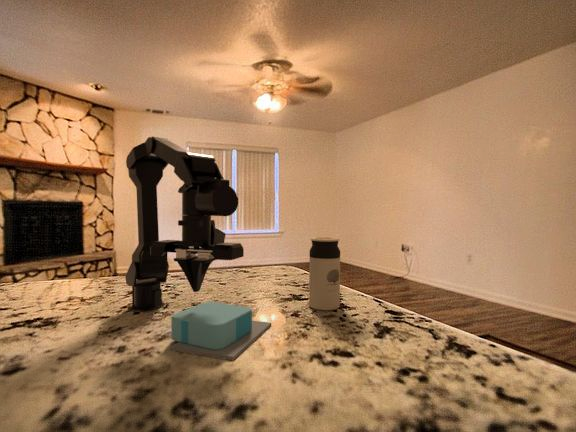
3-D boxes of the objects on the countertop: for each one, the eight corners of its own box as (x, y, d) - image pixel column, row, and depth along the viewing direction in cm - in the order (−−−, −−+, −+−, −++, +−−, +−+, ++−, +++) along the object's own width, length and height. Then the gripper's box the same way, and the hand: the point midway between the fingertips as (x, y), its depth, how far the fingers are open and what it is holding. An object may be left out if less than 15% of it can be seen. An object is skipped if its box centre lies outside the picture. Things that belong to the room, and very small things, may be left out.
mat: (170, 350, 61) (170, 346, 61) (220, 319, 78) (220, 316, 78) (233, 360, 57) (233, 356, 57) (271, 325, 74) (271, 322, 74)
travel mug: (304, 303, 91) (305, 237, 91) (331, 301, 94) (332, 236, 93) (316, 312, 84) (316, 239, 83) (345, 309, 86) (345, 239, 86)
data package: (167, 339, 64) (218, 351, 59) (167, 316, 64) (219, 326, 59) (208, 321, 75) (254, 329, 70) (208, 300, 75) (255, 308, 70)
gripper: (254, 215, 74) (254, 286, 74) (181, 214, 80) (181, 280, 80) (230, 216, 63) (230, 299, 64) (148, 214, 69) (148, 291, 69)
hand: (196, 291), depth 69 cm, fingers closed
